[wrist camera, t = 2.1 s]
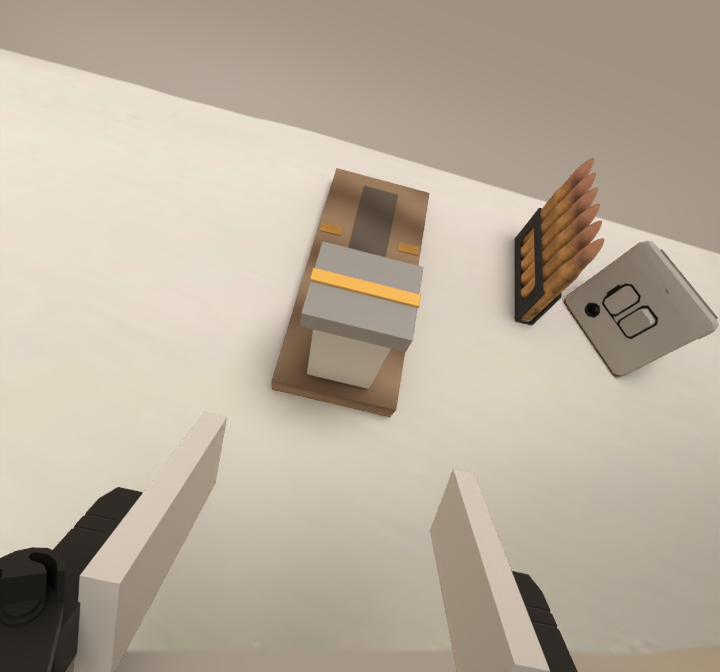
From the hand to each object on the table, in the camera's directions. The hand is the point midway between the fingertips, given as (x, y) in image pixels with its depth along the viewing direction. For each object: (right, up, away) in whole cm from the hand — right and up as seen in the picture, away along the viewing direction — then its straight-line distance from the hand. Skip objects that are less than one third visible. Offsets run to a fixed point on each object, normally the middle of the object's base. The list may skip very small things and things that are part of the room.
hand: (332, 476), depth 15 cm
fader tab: (0, +3, +20) cm, 20 cm away
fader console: (+1, +10, +26) cm, 28 cm away
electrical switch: (+26, +6, +29) cm, 39 cm away
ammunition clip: (+18, +11, +30) cm, 36 cm away
